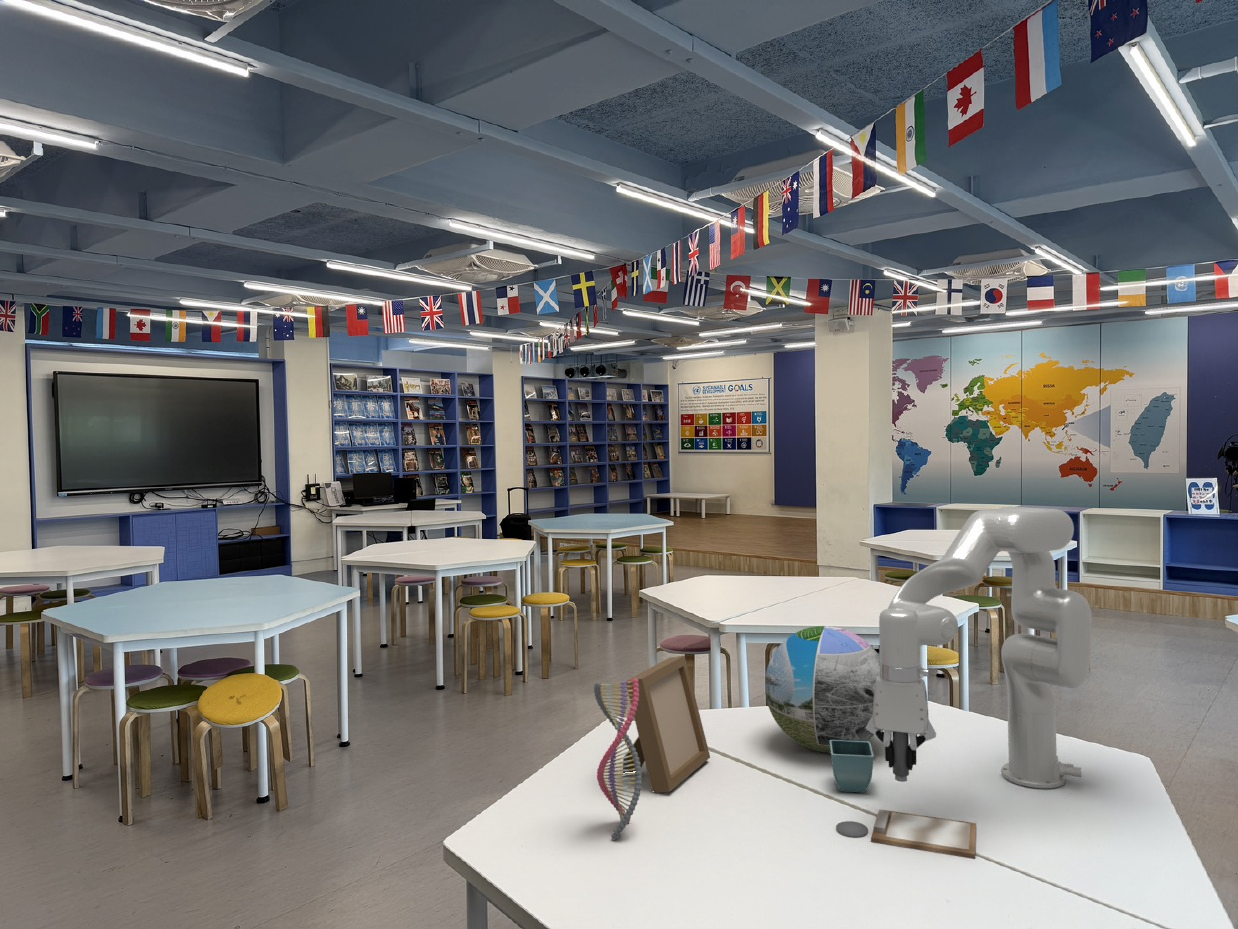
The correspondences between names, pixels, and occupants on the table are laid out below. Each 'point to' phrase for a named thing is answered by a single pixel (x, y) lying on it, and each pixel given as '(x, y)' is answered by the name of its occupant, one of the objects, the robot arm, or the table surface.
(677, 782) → the photo frame
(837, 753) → the flower pot
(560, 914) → the table surface
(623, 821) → the dna model
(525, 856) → the table surface
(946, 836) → the clipboard
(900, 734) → the marker
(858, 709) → the photo collage ball
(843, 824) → the dark grey disc
